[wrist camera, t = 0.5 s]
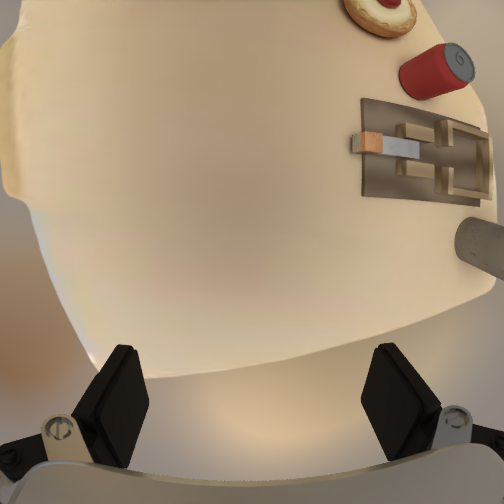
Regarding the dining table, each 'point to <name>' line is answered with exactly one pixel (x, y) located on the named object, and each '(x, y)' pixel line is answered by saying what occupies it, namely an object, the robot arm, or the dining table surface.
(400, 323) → the dining table surface
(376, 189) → the dock
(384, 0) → the pastry
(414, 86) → the beer can
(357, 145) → the copper-tipped grey bar
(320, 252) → the dining table surface
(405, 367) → the robot arm
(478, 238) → the thermos bottle
